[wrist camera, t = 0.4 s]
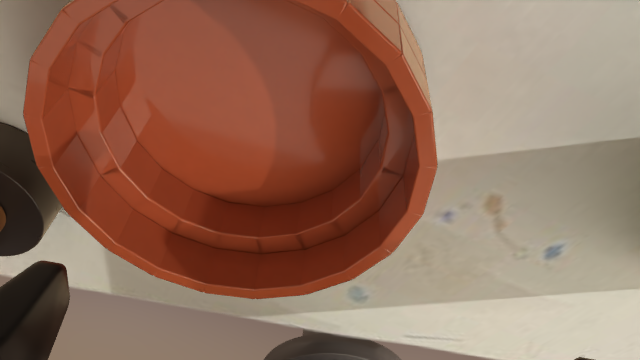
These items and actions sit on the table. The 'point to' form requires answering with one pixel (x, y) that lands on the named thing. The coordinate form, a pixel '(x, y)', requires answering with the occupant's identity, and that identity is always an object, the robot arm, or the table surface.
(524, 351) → the table surface
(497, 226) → the table surface
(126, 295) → the table surface
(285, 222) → the bowl
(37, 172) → the coffee tamper
